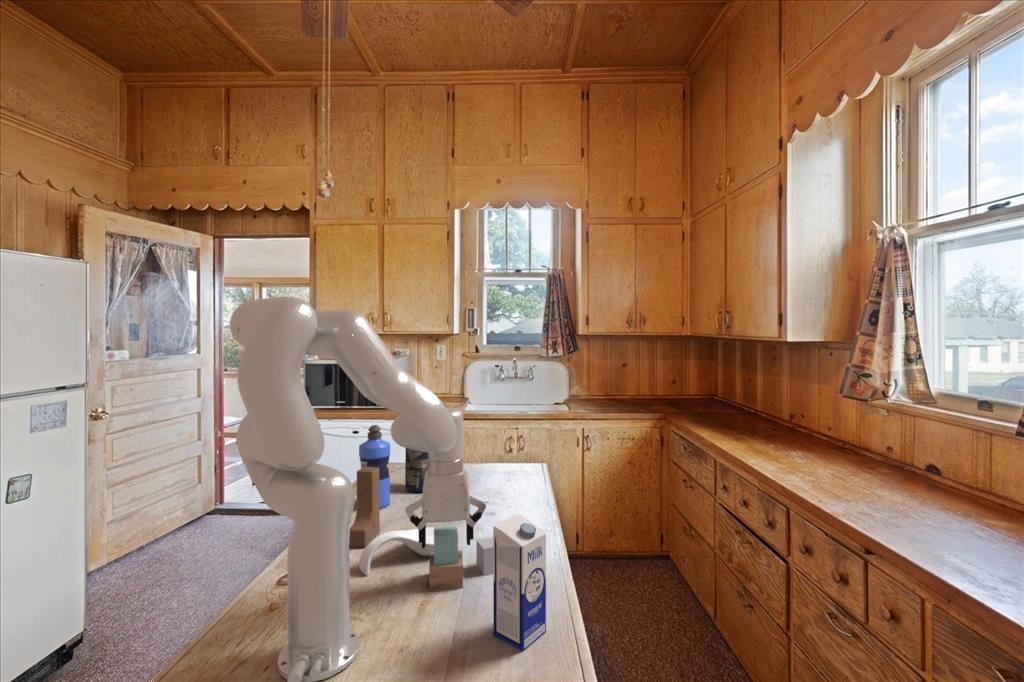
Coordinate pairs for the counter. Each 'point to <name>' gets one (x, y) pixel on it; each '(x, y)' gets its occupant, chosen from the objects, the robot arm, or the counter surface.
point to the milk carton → (519, 581)
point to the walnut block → (445, 574)
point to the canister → (415, 469)
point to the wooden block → (366, 508)
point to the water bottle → (377, 461)
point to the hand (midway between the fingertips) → (446, 544)
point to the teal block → (445, 545)
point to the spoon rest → (402, 535)
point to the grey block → (484, 555)
